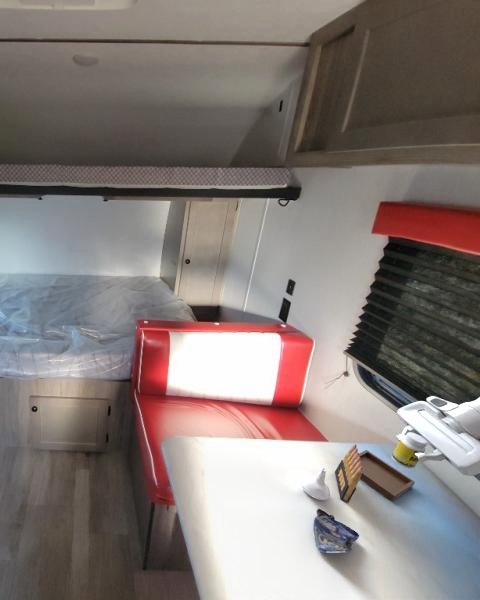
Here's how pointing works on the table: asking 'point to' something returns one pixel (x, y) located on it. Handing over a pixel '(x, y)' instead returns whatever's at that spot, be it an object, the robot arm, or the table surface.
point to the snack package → (332, 534)
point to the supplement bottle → (409, 450)
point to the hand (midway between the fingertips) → (407, 448)
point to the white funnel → (316, 486)
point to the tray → (383, 476)
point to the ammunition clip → (349, 474)
